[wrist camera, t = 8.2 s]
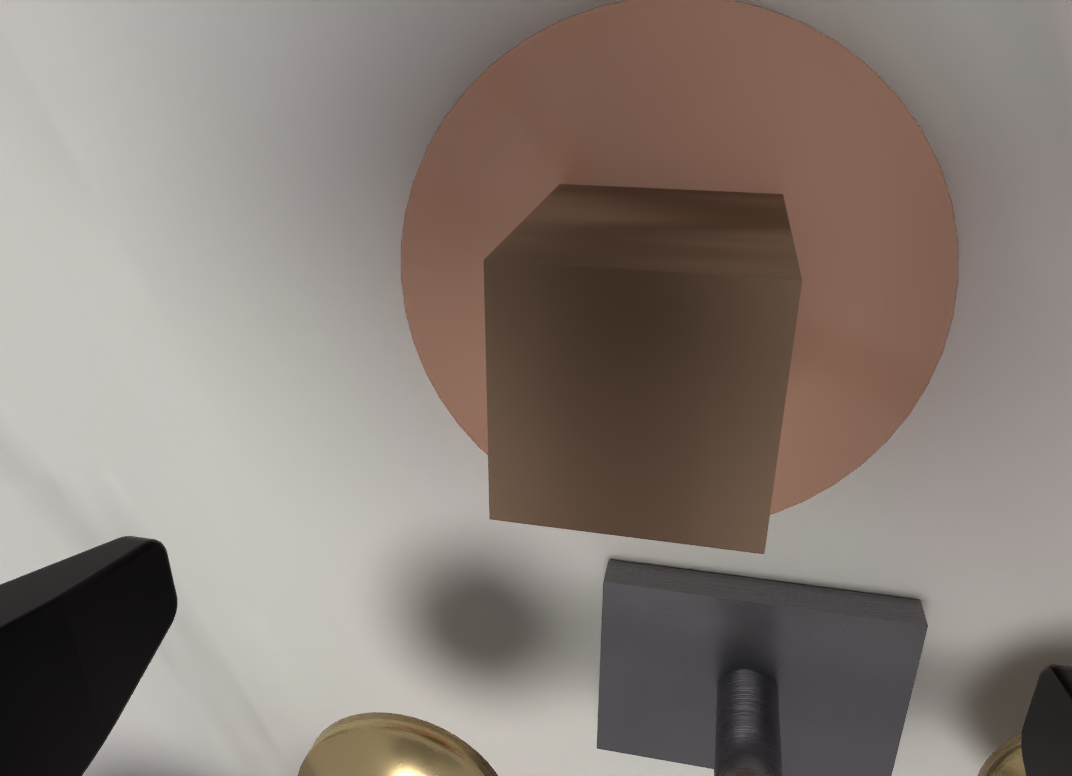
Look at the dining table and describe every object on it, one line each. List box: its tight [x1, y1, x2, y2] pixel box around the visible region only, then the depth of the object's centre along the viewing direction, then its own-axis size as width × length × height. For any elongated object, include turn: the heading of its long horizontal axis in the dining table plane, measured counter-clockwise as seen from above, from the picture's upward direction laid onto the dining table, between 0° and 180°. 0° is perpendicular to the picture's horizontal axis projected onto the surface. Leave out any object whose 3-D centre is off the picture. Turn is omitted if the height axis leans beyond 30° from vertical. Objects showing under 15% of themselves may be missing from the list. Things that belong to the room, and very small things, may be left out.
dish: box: [401, 0, 958, 514], centre depth 19 cm, size 12×12×1 cm
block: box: [483, 184, 802, 554], centre depth 16 cm, size 5×5×6 cm
